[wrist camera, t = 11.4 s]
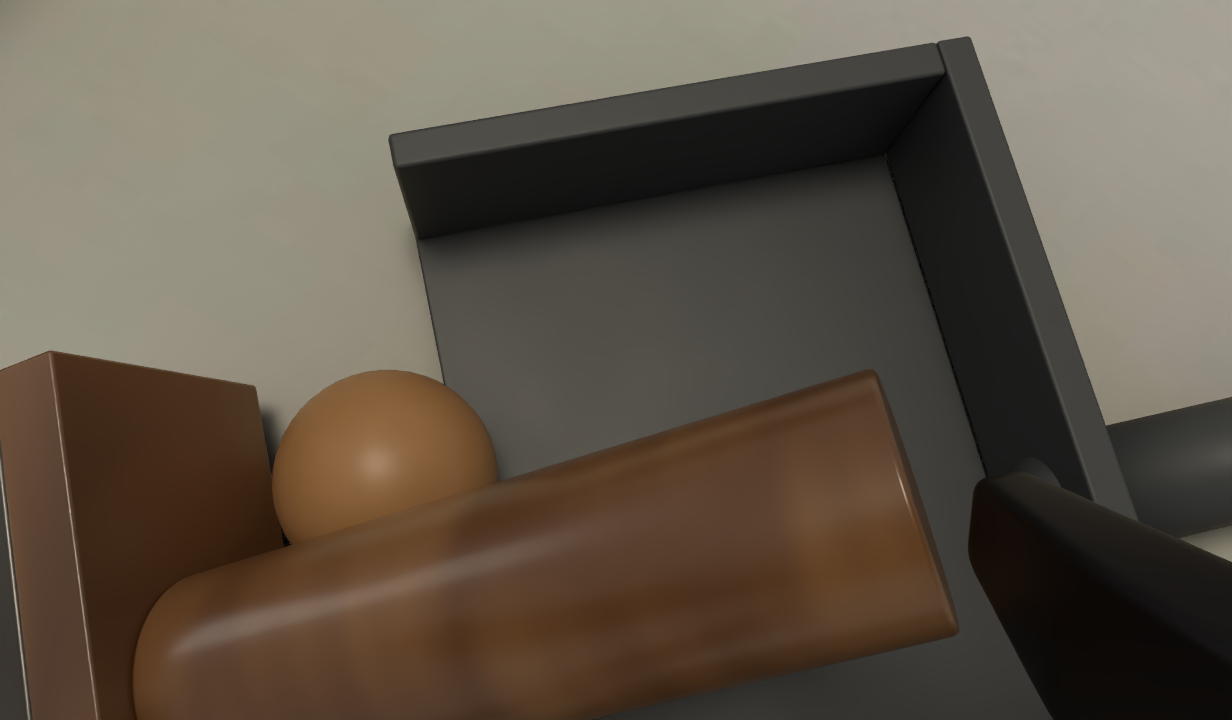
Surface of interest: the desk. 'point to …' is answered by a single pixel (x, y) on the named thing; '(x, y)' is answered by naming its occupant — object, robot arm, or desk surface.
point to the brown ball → (376, 452)
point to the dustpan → (791, 317)
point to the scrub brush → (441, 563)
